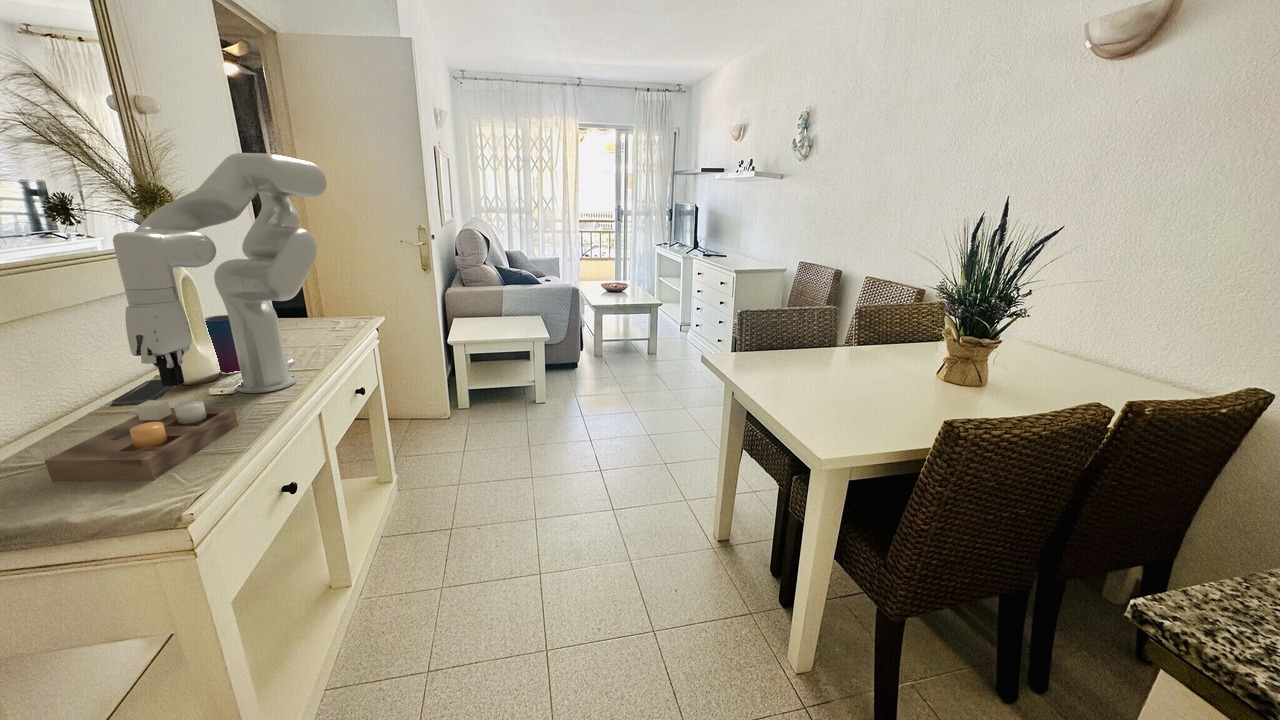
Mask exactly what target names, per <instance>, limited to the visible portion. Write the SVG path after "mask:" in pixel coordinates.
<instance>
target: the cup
mask: <svg viewBox="0 0 1280 720" xmlns="http://www.w3.org/2000/svg"><path fill="white" fill-rule="evenodd" d="M204 318H205V320H206V321H205V322H206V325H207V328H208V332H209V335H210V337H211V340H212V343H213V346H214V349H215V352H216V355H217V358H218V362H219V366H220V370H221V372H225V373H229V372H234V371H241V370H240V366H239V362H238V357H237V353H236V348H235V344H234V340H233V335H232V331H231V326H230V321H229V317H228V314H222V315H221V314H220V315H213V316H208V317H204Z"/></svg>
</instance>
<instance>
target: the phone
mask: <svg viewBox="0 0 1280 720" xmlns="http://www.w3.org/2000/svg"><path fill="white" fill-rule="evenodd" d="M174 387H175V386H163V385H162V382H161V379H150V380H146V381H145V382H143V383H141V384H139V385H138V386H136V387H134V388H133V389H131V390H129V391H127V392H126V393H123V394H121V395H120V396H119V397H117V398H115V399H113V400H112V401H111V403H112V406H122V405H121V404H130V405H137V404H136V403H144V402H146V401H148V400H156V399H157V400H159V399H160V398H162V397H163V396H165V395H166V394H168V393H169V392H171V391H172V390H174V389H175V388H176V387H175V388H174ZM173 388H174V389H173ZM171 389H172V390H171ZM170 390H171V391H170ZM168 391H169V392H168ZM167 392H168V393H167ZM165 393H166V394H165ZM164 394H165V395H164ZM162 395H163V396H162ZM161 396H162V397H161ZM159 397H160V398H159ZM158 398H159V399H158Z"/></svg>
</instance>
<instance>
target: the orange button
mask: <svg viewBox="0 0 1280 720" xmlns="http://www.w3.org/2000/svg"><path fill="white" fill-rule="evenodd" d="M129 431H130V434H131V438H132V441H133V444H134V447H136V448H147V447H152V446H156V445H159V444H161V443H163V442H165V441H166V440H167V436H166V432H165V429H164V425H163V423H162V422H149V423H144V424H140V425H137V426H134V427H132V428H131V429H130V430H129Z"/></svg>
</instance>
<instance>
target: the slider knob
mask: <svg viewBox="0 0 1280 720" xmlns="http://www.w3.org/2000/svg"><path fill="white" fill-rule="evenodd" d="M170 408H171V407H170V403H169V400H168V399H157V400H148V401H146V402H144V403H141V404H136V405H135V409H136V412H137V415H138V416H139V419H140V420H161V419H163V418H165V417H167V416H169V415H171V414H172V413H171V410H170Z"/></svg>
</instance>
